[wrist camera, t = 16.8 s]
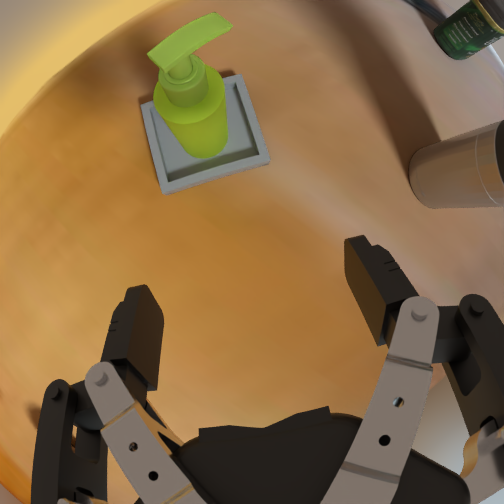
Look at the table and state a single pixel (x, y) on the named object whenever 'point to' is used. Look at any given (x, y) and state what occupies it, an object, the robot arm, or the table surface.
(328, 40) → the table surface
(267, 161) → the tray
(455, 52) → the coffee jar
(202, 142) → the soap dispenser
